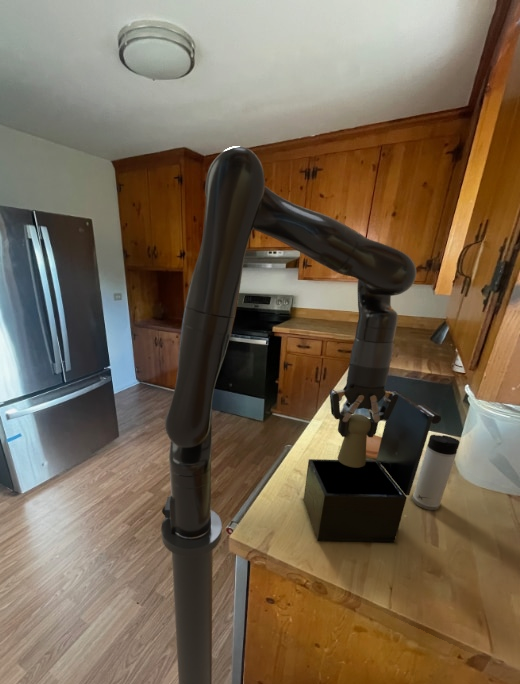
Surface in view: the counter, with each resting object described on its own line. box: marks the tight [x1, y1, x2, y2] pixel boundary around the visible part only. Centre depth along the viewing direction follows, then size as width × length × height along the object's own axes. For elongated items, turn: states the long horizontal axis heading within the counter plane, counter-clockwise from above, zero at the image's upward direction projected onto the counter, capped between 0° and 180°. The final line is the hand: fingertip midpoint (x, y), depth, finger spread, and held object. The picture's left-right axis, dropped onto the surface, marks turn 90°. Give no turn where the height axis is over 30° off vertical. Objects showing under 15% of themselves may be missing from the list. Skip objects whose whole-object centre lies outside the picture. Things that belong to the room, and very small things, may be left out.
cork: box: [337, 413, 371, 468], centre depth 73 cm, size 6×6×11 cm
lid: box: [377, 390, 442, 496], centre depth 73 cm, size 19×15×6 cm
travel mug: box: [412, 434, 461, 511], centre depth 84 cm, size 6×7×20 cm
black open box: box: [302, 458, 408, 544], centre depth 80 cm, size 18×15×13 cm
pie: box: [366, 434, 382, 462], centre depth 111 cm, size 15×16×5 cm
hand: (355, 435), depth 73 cm, fingers closed on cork, 5 cm apart
